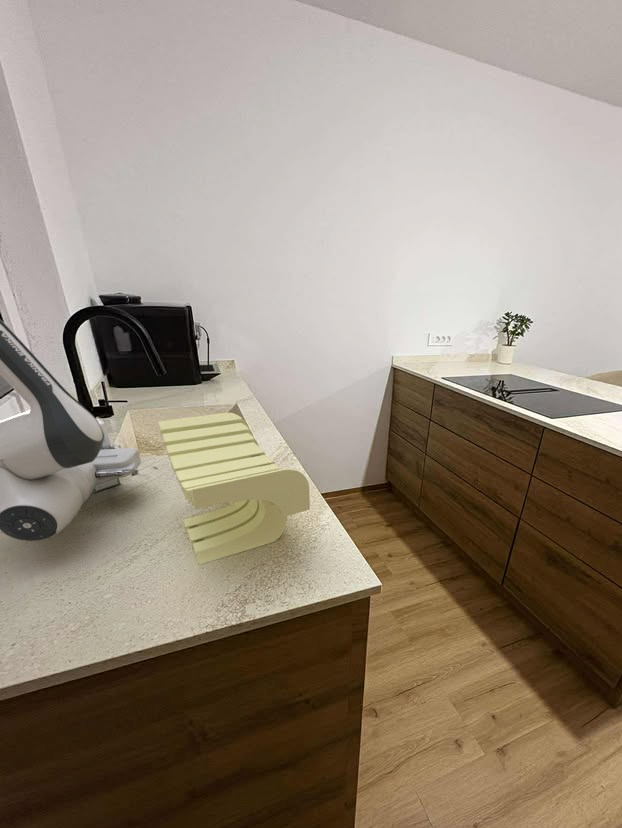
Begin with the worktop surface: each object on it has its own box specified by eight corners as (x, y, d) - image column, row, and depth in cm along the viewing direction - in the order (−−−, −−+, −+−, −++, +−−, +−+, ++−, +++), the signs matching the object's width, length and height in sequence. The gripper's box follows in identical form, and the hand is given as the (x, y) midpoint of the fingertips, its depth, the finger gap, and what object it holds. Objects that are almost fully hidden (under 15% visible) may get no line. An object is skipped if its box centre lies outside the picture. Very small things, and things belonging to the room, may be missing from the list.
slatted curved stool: (311, 562, 64) (308, 465, 56) (211, 597, 56) (192, 490, 48) (252, 487, 86) (244, 410, 78) (175, 505, 78) (158, 421, 70)
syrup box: (108, 477, 88) (91, 415, 82) (122, 484, 85) (104, 421, 79) (81, 486, 84) (60, 422, 78) (94, 494, 81) (73, 428, 75)
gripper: (127, 457, 71) (143, 432, 83) (-6, 466, 66) (31, 438, 78) (135, 488, 74) (149, 459, 86) (8, 499, 69) (41, 466, 80)
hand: (92, 449), depth 82 cm, fingers open, 8 cm apart
